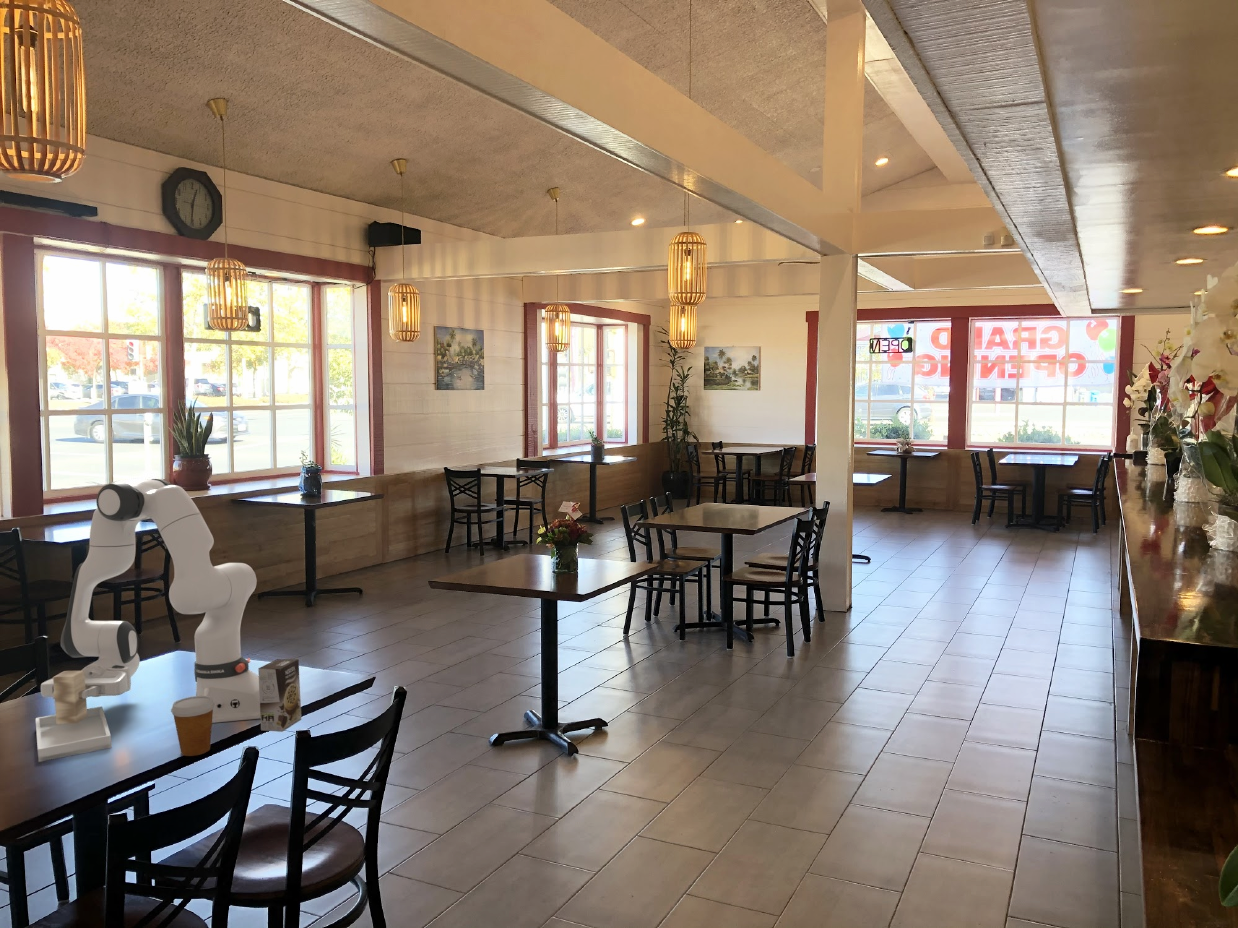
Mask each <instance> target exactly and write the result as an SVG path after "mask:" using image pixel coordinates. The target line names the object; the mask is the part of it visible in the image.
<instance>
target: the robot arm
mask: <svg viewBox="0 0 1238 928" xmlns="http://www.w3.org/2000/svg"><path fill="white" fill-rule="evenodd" d="M96 507H97V508H96V509H95V510H94V511H93V515H92V519H91V524H90V529H89V548H88V553H87V557H86V559H85V560H84V561H83V562H81V563H80V564H79V565H78V567H76V570H75V574H74V577H73V582H72V586H71V587H72V588H71V592H70V598H69V603H68V608H67V609H68V610H67V614H66V620H65V623H64V626H63V629H62V631H61V636H60V647H61V648H62V650H63V651H64V652H65V653H66V654H67V655H68V656H69V657H71V658H73V659H76V658H87V657H98V659H97V660H96V661H93V662H91V663H89V664H88V665H86V666H85V667H84V668H82V669H81V670H80V671H84V672H85V687H86V690H82V691H80V692H79V693H78V695H79V699H86V700H87V699H88V698H90V697H91V698H99V697H109V696H111V697H112V696H115V697H116V696H121V695H123V694H124V693H126V692H128V691H130V690H131V685H132V682H131V678H132V677H133V675H135V673H136V672H137V670H138V668H139V666H140V663H141V662H140V660H141V659H140V656H139V653H138V650H139V635H138V632H137V630H136V629H135V627H134V626H133V624H131V623H130V622H129V621H127V620H91V619H90V618H89V614H90V607H91V602H92V596H93V591H94V590H95V588H96V586H97V585H98V584H100V583H101V582H104V581H106V580H109V579H113V578H114V577H117V576H120V575H122V574H124V573H126V571H128V570H129V569H130V568H131V567H132V566H133V564H134V562H135V557H136V529H137V526H138V524H139V523H140V522H142V521H151V520H152V521H153V522H154V524H155V526H156V528H157V530H158V531H159V534H160V536H161V538H162V540H163V542H164V544H165V545H166V548H167V550H168V552H169V554H170V556H171V558H172V563H173V569H174V570H173V571H174V575H173V577H174V578H173V581H172V582H171V584H170V587H169V592H168V598H169V603H170V604H171V606H172V607H173V608H174V610H175V611H177V613H179V614H182V615H198V614H204V613H205V615H204V617H203V619H202V622H200V624H199V626H197V628H196V630H195V633H194V649H195V662H194V663H193V665H194V666H193V667H194V670H193V671H194V679H195V682H196V687H195V688H196V689H195V696H208V697H211V698H212V699H213V702H214V703H215V706H214V709H213V715H212V724H214V723H222V722H223V723H224V722H235V721H246V720H256V719H257V720H258V719H261V717H260V694H259V674H256V673H255V672H253V671H251V669H249V667H250V666H249V663H251V658H250V657H248V658H247V659H246V658H245V657H243V656H242V654H241V653H242V652H241V651H242V649H241V626H242V625H241V624H242V620H243V616H244V611H245V609H246V605H247V604H248V603H247V602H248V601H249V599H250V597H251V595H252V594H253V592H255V589H256V587H257V582H258V581H257V575H256V572H255V571H254V570H253V568H252V567H251V566H250V565H248V564H247V563H244V562H225V563H222V564H219V565H214V566H213V564H212V562H211V559H210V550H211V549H212V548H213V546H214V544H215V541H214V537H213V534H212V533H211V530H210V528H209V526H208V525H207V523H206V521H205V519H204V517H203V515H202V513H201V511H200V509H199V508H198V507H197V504H195V502H194V501H193V498H191V496H190V495H189V494H188V493H187V491H186V490H185V489H184V488H183V487H182V486H180V485H177V484H176V485H175V484H171V482H169V481H166V480H164V479H159V478H152V479H143V478H141V479H140V478H133V479H132V478H131V479H127V480H126V479H125V480H116V481H112V482H109V483H107V484H105V485H104V486H102V487H101V488H100V489H99V491H98V492H97V495H96ZM40 694H41V696H42V697H43V698H52V700H55V697H54V682H53V677H52V678H50V679H47V680H45V681H44V682H42V683H41V684H40Z"/></svg>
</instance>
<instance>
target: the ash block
mask: <svg viewBox="0 0 1238 928" xmlns="http://www.w3.org/2000/svg"><path fill="white" fill-rule="evenodd" d="M52 678H53V682H54V697H55V699H54V708H55V709H54V710H55V715H56V724H74V723H78V722H80V721H81V720H83V719H84V718H86V717H87V709H88V707H87V706H88V705H87V698H86V699H79V695H78V693H79V692H80V691H82V690H86V687H85V672H84V671H81V670H64V671H62V672H59V673H58V674H56V675H55V676H53V677H52Z"/></svg>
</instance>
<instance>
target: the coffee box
mask: <svg viewBox="0 0 1238 928" xmlns="http://www.w3.org/2000/svg"><path fill="white" fill-rule="evenodd" d="M257 671H258V676H259V694H260V717H261V718H260V730H261V731H266V732H278V733H283V732H285V731H286V730H287V729H289V728H291V727H292V726H294V725H295V724H297V723H299V722H300V721H302V705H301V702H302V701H301V686H300V685H301V683H300V664H299V659H296V658H277V659H275V660H272V661H271V662H268V663H266V664H264V665H262V666H261V667H258V669H257Z"/></svg>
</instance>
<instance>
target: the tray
mask: <svg viewBox="0 0 1238 928" xmlns="http://www.w3.org/2000/svg"><path fill="white" fill-rule="evenodd" d="M35 728H36V743H37V744H36V745H37V746H36V747H37V756H38V762H39V763H41V762H46V761H51V759H52V760H57V759H60V758H66V757H73V756H75V755H80V754H86V753H91V752H96V751H102V750H106V749H110V748H112V738H111V732H110V728H109V725H108V721H107V719H106V715H105V711H104V708H103V706H96V707H91V708H87V717H86V718H84V719H83V720H81V721H80V722H78V723H74V724H56V714H52V715H51V714H50V715H45V716H39V717H36V718H35Z"/></svg>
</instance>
